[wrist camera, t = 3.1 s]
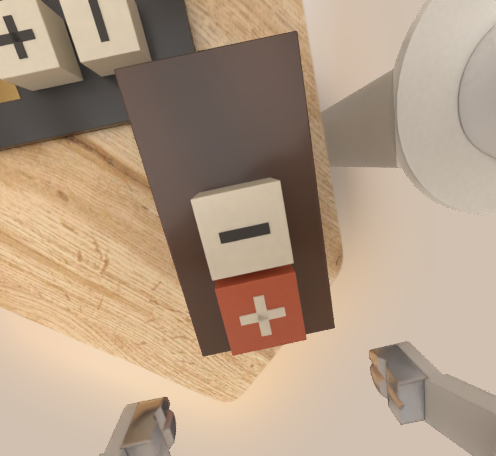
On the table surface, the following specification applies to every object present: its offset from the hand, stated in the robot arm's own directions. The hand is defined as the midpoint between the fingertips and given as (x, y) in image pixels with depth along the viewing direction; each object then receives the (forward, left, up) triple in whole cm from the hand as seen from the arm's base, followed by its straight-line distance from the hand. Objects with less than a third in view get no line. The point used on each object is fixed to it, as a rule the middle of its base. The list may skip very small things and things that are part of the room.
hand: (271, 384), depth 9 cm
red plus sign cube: (0, 0, -7) cm, 7 cm away
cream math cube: (+13, -20, -16) cm, 29 cm away
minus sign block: (+7, -20, -16) cm, 27 cm away
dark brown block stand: (0, -5, -17) cm, 18 cm away
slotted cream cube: (0, -5, -7) cm, 9 cm away
